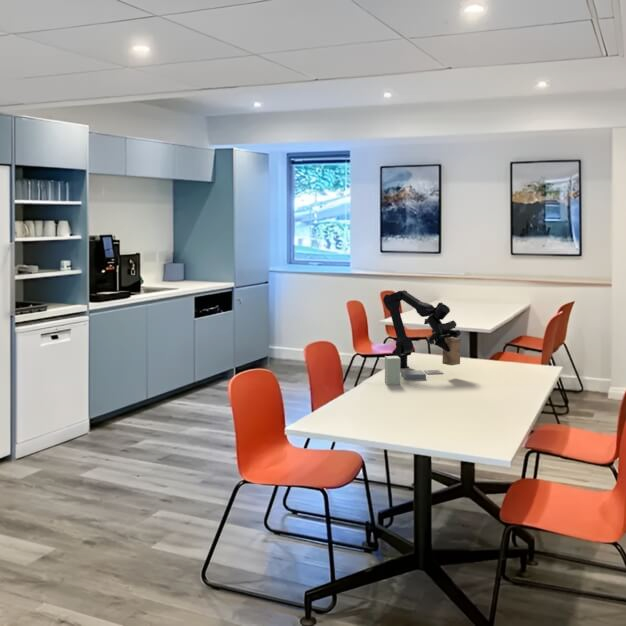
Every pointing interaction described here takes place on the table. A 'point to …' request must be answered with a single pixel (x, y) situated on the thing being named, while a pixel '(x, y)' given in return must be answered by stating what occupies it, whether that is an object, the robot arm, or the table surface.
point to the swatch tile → (433, 372)
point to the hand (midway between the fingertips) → (453, 350)
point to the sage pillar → (392, 370)
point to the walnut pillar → (452, 351)
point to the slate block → (413, 375)
